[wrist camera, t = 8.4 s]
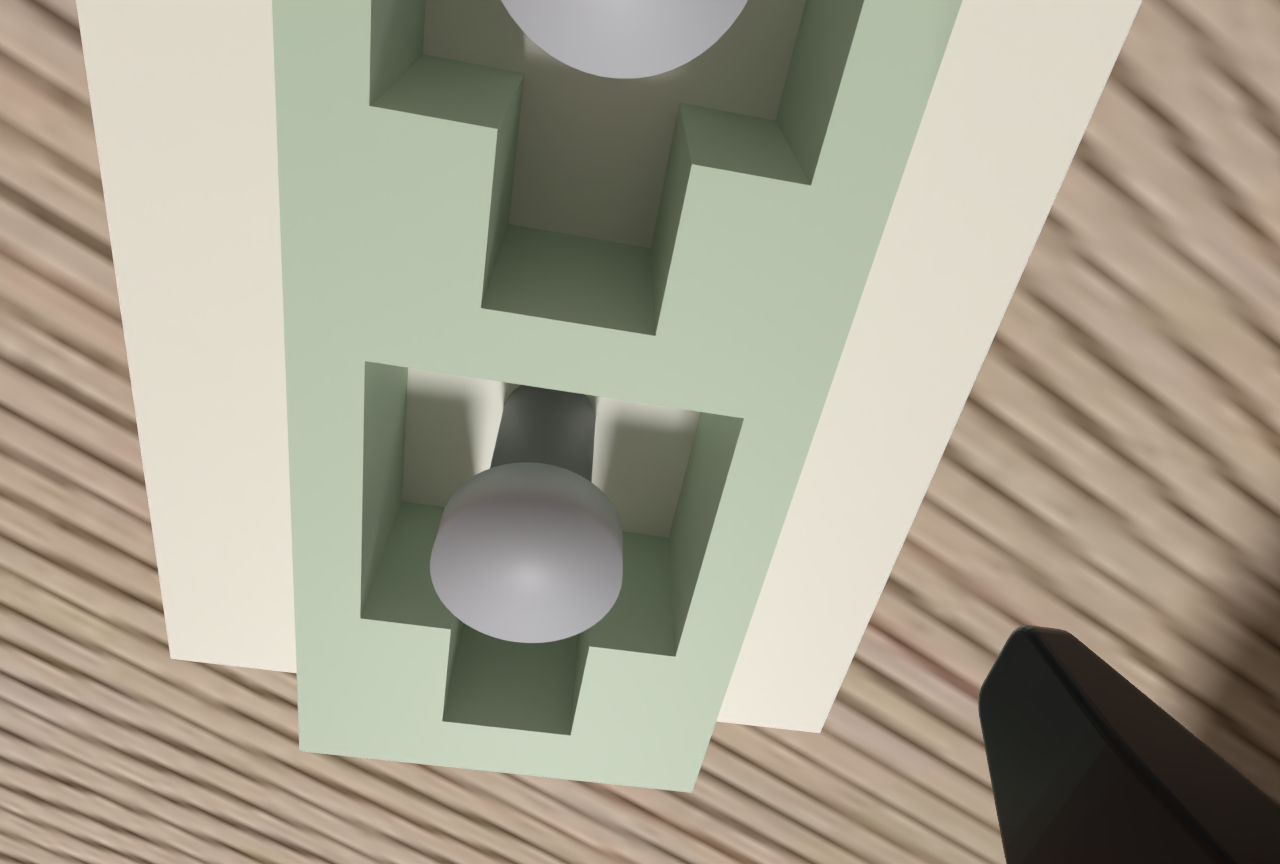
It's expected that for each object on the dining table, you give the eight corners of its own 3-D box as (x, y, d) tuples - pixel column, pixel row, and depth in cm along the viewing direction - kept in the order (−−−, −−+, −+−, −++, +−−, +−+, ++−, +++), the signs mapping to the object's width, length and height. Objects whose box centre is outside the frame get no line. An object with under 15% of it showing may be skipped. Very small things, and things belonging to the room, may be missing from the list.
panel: (683, 667, 19) (691, 792, 16) (345, 626, 18) (299, 751, 16) (1000, -399, 10) (1128, -484, 7) (351, -566, 9) (245, -725, 7)
